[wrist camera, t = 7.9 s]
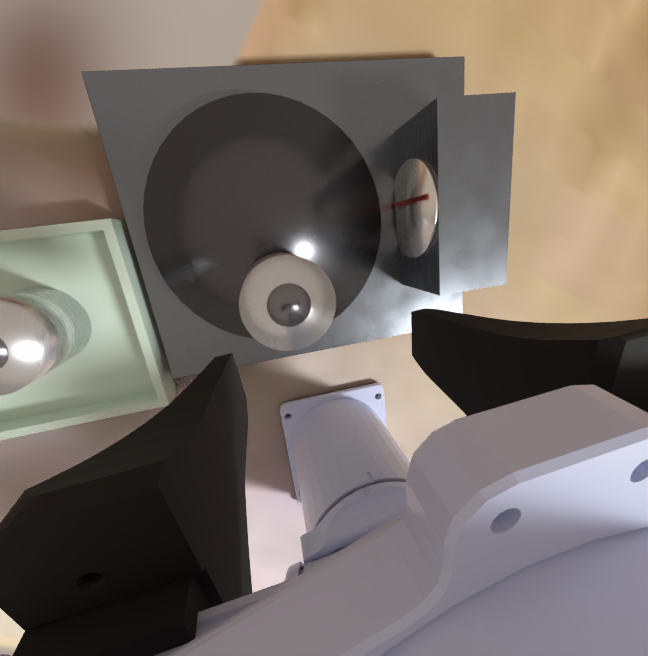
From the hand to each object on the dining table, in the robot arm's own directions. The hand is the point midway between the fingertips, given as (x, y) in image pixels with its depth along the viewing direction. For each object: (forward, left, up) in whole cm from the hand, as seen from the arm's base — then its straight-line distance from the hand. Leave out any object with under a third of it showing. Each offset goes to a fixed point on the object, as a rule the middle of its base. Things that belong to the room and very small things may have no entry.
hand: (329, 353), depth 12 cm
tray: (+1, +15, -10) cm, 17 cm away
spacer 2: (+2, +1, -7) cm, 7 cm away
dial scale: (+5, -1, -10) cm, 11 cm away
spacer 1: (+2, +15, -9) cm, 17 cm away
